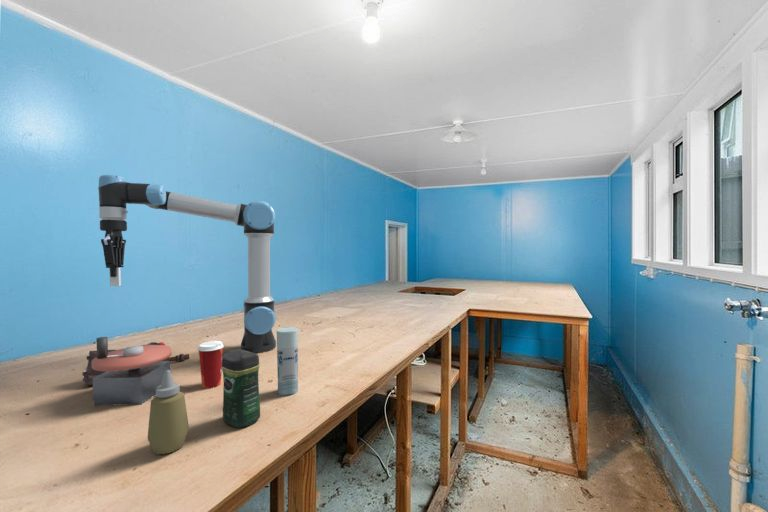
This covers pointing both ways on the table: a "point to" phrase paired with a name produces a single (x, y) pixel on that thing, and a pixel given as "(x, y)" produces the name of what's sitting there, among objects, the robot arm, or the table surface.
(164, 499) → the table surface
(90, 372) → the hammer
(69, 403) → the table surface
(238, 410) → the coffee jar
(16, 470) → the table surface
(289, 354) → the spray paint can
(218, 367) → the paper cup
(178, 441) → the squeeze bottle
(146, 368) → the grey box
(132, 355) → the handwheel
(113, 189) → the robot arm
